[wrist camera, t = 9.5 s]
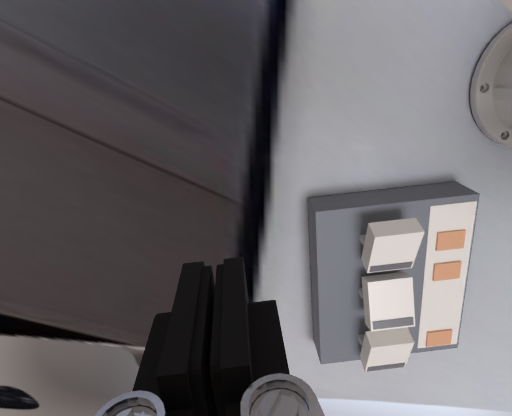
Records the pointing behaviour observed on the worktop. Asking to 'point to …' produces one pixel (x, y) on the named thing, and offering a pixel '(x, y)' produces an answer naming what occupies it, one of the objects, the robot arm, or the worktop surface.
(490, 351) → the worktop surface
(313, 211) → the switch unit
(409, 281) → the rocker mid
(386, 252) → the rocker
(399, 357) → the rocker
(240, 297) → the robot arm
